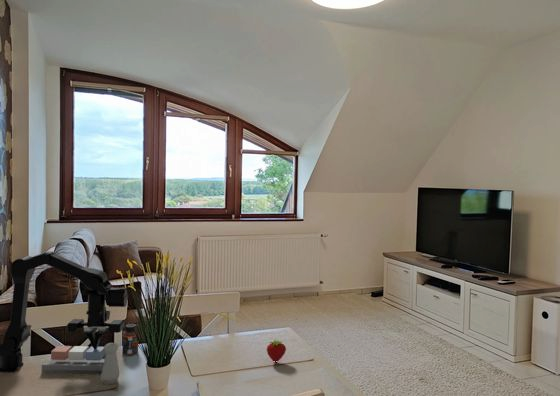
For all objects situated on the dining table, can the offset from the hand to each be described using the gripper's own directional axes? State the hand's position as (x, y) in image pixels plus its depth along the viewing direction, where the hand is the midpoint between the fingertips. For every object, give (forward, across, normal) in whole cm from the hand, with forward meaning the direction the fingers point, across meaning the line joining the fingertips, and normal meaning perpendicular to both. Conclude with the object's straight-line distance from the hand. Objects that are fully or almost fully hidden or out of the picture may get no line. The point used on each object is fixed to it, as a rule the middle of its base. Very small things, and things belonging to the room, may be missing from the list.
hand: (95, 348), depth 154 cm
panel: (+7, +6, 0) cm, 9 cm away
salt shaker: (+7, -9, +11) cm, 16 cm away
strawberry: (+7, -66, -6) cm, 67 cm away
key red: (+3, +12, 0) cm, 12 cm away
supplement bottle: (+7, -9, -12) cm, 17 cm away
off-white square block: (+3, +6, 0) cm, 7 cm away
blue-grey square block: (+3, 0, 0) cm, 3 cm away
